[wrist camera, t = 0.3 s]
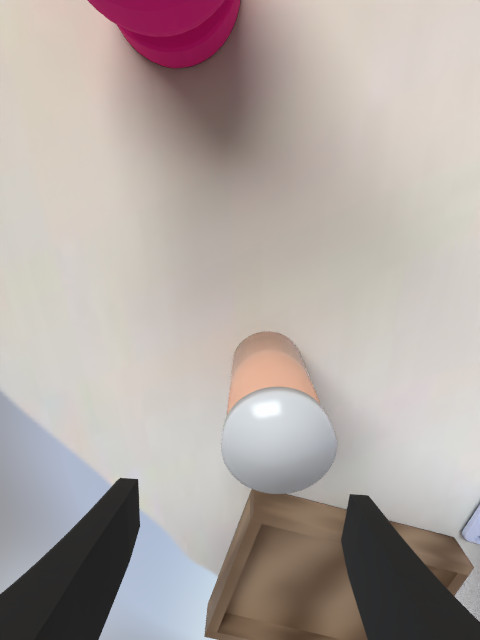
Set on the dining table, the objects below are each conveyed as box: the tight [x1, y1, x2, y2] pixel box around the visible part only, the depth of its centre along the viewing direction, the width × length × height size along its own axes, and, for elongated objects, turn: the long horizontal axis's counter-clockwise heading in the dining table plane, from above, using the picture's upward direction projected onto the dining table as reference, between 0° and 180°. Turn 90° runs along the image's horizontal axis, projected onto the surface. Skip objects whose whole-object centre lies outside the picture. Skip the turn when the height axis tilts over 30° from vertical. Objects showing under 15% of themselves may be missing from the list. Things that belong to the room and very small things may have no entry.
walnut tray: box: [205, 489, 474, 640], centre depth 24 cm, size 16×13×2 cm
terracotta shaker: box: [221, 332, 337, 494], centre depth 16 cm, size 5×5×8 cm
